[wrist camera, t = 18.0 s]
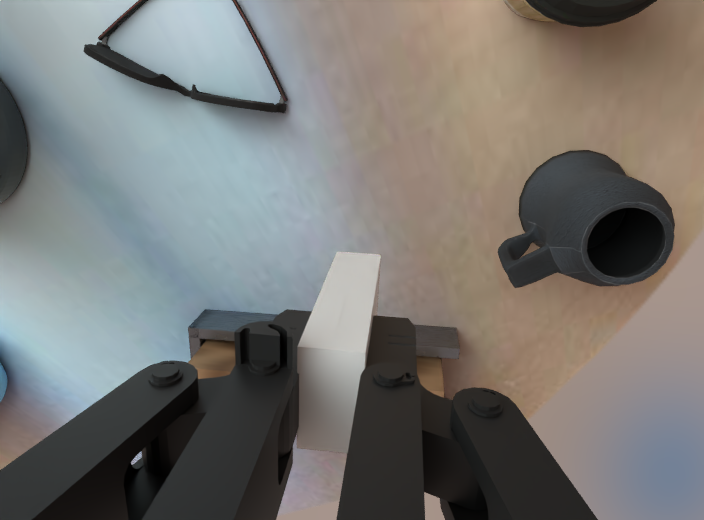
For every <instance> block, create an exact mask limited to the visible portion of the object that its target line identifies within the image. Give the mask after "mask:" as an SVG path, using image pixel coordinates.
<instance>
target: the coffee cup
mask: <svg viewBox="0 0 704 520" xmlns="http://www.w3.org/2000/svg"><path fill="white" fill-rule="evenodd" d="M656 1H657V0H504V2H505V3H506V5H507V6H508V7H509V8H510V9H511V10H512V11H513V12H515V13H516V14H518V15H520V16H522V17H525V18H530V19H533V20H539V21H554V22H559V23H562V24H567V25H572V26H578V27H592V26H603V25H607V24H611V23H615V22H619V21H622V20H624V19H626V18H628V17H631V16H633V15H635V14H637V13H639V12H641V11H642V10H644V9H645V8H647V7H648V6H650V5H651V4H653V3H654V2H656Z"/></svg>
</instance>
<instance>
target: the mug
mask: <svg viewBox="0 0 704 520" xmlns="http://www.w3.org/2000/svg"><path fill="white" fill-rule="evenodd" d="M519 217H520V220H521V224H522V227H523V230H524V231H525V233H524V234H522V235H518V236H515V237H513V238H509V239H507V240H505V241H504V242H503V243H502V244H501V246H500V247H499V249H498V255H499V258H500V261H501V263H502V266H503V268H504V270H505V272H506V273H507V275H508V277H509V280H510V282H511V283H512V284H513V286H514V287H515V288H518V287H522V286H525V285H528V284H531V283H533V282H536V281H538V280H541V279H543V278H545V277H547V276H549V275H552V274H554V273H557V272H558V273H561V274H564V275H567V276H570V277H572V278H575V279H578V280H580V281H583V282H587V283H590V284H594V285H597V286H619V285H628V284H632V283H636V282H639V281H643V280H645V279H646V278H648V277H650V276H651V275H653V274H655V273H656V272H657V271H658V270H659V269H660V268H661V267H662V266H663V265H664V264H665V263H666V261H667V259H668V257H669V255H670V253H671V251H672V248H673V242H674V227H675V223H674V219H673V214H672V209H671V207H670V206H669V204H668V203H667V201H666V200H665V198H664V197H663V195H662V194H661V193H659V192H658V191H656V190H655V189H654V188H652V187H651V186H649V185H648V184H646V183H643V182H641V181H639V180H636V179H634V178H631V177H628V176H627V175H626V174H625V172H624V171H623V170H622V168H621V167H620V165H619V164H618V163H616V162H615V161H613V160H612V159H610V158H609V157H608V156H606V155H604V154H600V153H597V152H593V151H589V150H580V151H568V152H565V153H563V154H560V155H557V156H554V157H552V158H550V159H549V160H547V161H546V162H545V163H543V164H542V165H540V166H539V167H538V168H537V169H536V170H535V171H534V172H533V174H532V175H531V176H530V177H529V179H528V180H527V181H526V183H525V185H524V188H523V191H522V193H521V196H520V200H519ZM532 242H533V243H535V244H536V245H538V246H539V247H540V248H539V249H537V250H535V251H533V252H531V253H529V254H527V255H525V256H523V257H521V256H522V255H523V254H524V253H525V252H526V251H527V249H528V248H529V246H530V244H531V243H532ZM520 257H521V258H520ZM519 258H520V259H519Z"/></svg>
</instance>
